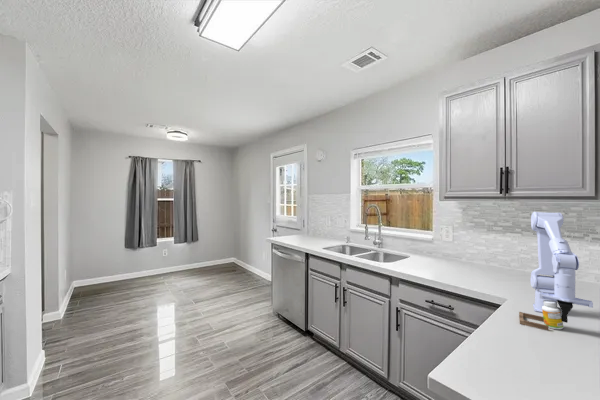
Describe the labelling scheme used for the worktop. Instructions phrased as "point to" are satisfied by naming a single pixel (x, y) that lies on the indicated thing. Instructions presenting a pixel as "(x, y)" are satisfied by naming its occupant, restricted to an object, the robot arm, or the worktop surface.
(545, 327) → the walnut stop
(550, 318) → the supplement bottle
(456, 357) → the worktop surface
